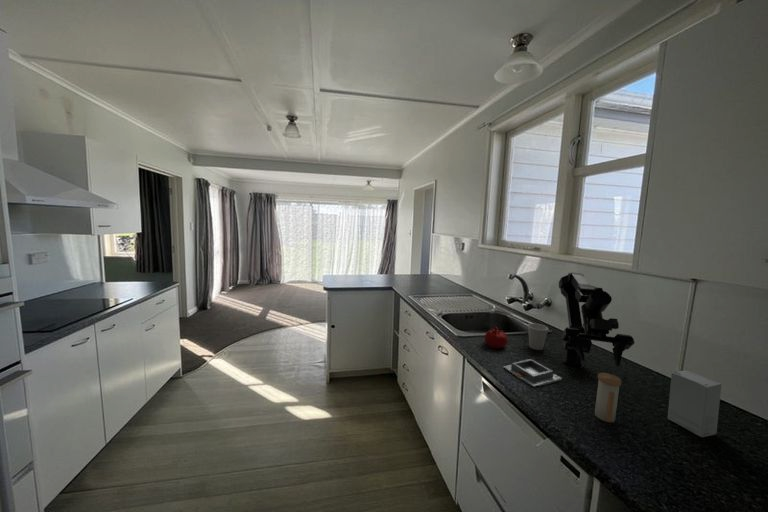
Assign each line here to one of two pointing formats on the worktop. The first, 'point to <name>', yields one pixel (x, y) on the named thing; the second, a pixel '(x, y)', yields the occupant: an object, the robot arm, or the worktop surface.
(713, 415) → the skincare box
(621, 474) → the worktop surface
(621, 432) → the worktop surface
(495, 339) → the pomegranate
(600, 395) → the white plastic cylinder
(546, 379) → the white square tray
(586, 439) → the worktop surface
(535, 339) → the dixie cup
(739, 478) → the worktop surface
